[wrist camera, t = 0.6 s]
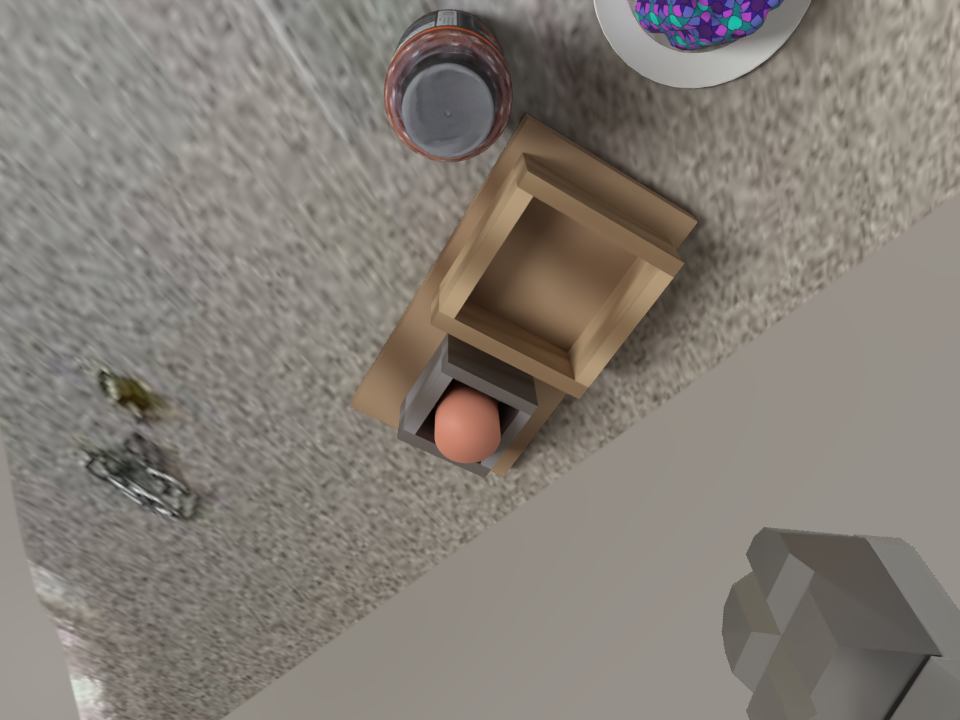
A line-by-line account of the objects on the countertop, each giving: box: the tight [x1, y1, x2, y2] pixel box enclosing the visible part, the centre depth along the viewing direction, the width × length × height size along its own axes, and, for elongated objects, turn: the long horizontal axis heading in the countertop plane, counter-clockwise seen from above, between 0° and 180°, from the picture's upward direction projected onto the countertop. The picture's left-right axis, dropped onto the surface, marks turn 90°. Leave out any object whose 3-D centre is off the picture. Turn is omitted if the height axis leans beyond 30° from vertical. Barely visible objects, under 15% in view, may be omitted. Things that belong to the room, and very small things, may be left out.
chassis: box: [351, 113, 697, 478], centre depth 49 cm, size 22×12×5 cm, turn 149°
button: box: [435, 381, 501, 463], centre depth 49 cm, size 4×4×3 cm
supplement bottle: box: [384, 10, 513, 162], centre depth 38 cm, size 6×6×11 cm
